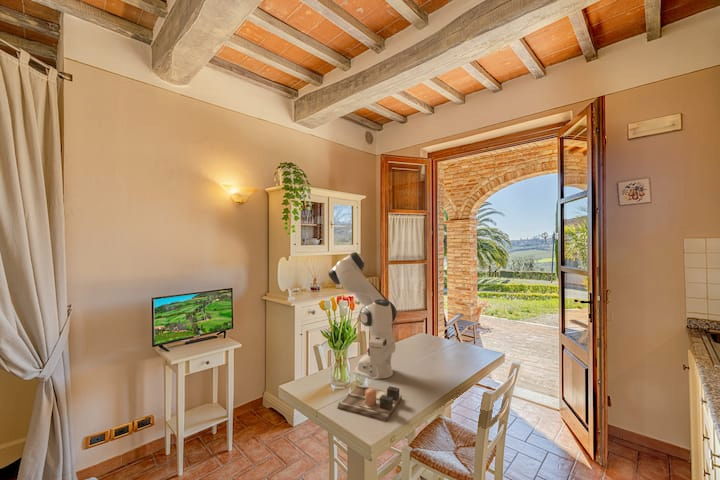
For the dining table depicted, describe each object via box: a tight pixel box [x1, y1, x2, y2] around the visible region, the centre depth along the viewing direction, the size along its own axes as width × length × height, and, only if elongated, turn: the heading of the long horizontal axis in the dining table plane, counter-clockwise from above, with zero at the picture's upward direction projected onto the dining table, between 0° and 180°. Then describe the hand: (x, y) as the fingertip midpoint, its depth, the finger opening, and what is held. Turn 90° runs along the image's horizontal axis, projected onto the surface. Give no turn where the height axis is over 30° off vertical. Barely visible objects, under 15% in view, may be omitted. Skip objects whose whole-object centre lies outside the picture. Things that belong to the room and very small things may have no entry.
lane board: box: [337, 384, 403, 422], centre depth 145 cm, size 24×20×2 cm
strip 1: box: [360, 395, 394, 416], centre depth 139 cm, size 14×7×6 cm, turn 64°
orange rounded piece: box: [365, 387, 376, 407], centre depth 140 cm, size 5×5×6 cm
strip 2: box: [376, 385, 401, 405], centre depth 147 cm, size 14×7×6 cm, turn 64°
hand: (384, 368), depth 137 cm, fingers open, 8 cm apart
